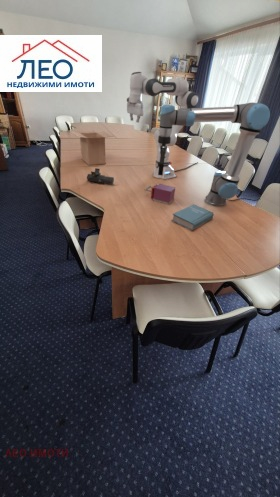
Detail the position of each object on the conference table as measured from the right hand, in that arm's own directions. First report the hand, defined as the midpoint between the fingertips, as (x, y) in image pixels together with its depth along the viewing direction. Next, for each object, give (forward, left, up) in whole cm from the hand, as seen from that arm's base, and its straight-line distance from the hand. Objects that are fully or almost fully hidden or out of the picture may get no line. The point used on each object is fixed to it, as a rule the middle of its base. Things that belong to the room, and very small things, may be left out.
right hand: (160, 171), depth 144 cm
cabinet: (-6, -10, -24) cm, 27 cm away
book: (-21, +20, -24) cm, 38 cm away
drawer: (-1, -13, -23) cm, 26 cm away
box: (+59, -102, -24) cm, 120 cm away
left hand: (+18, -50, +22) cm, 57 cm away
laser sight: (+45, -39, -24) cm, 64 cm away
